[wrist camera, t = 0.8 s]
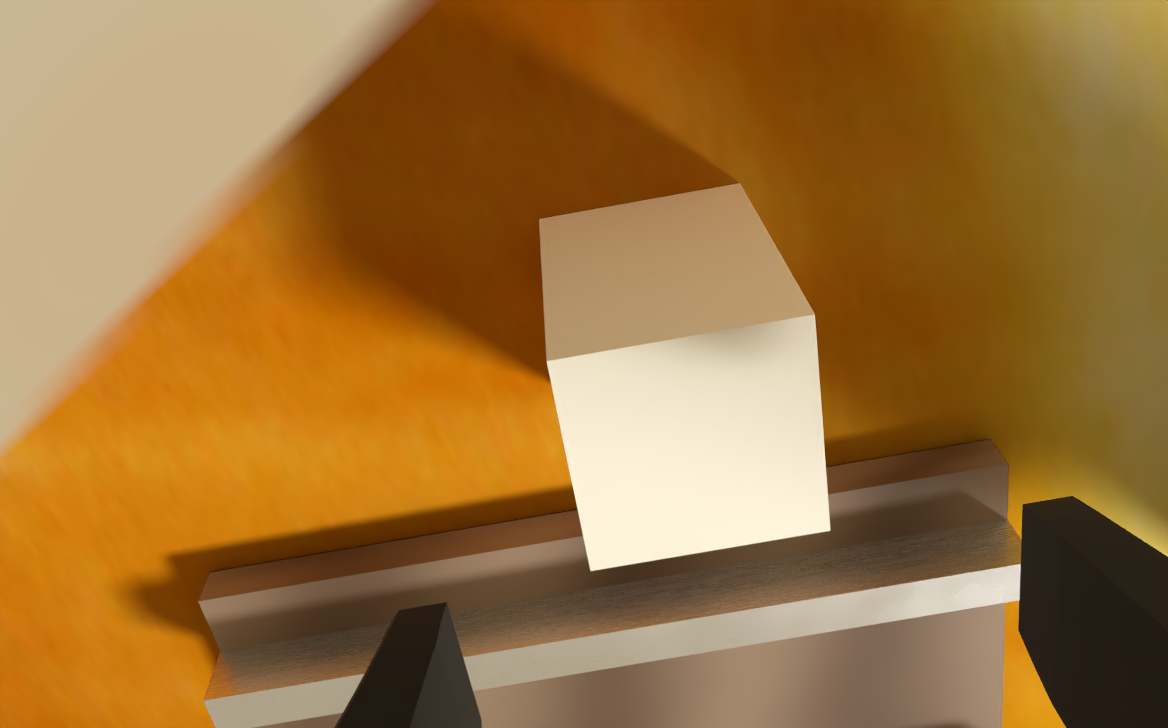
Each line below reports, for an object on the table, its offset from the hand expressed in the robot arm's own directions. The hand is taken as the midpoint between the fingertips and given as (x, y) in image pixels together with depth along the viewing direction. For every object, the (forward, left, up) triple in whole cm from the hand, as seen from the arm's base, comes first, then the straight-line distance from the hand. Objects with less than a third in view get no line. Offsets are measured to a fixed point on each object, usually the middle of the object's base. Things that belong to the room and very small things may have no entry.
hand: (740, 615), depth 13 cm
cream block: (0, 0, -10) cm, 10 cm away
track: (+2, +11, -10) cm, 14 cm away
